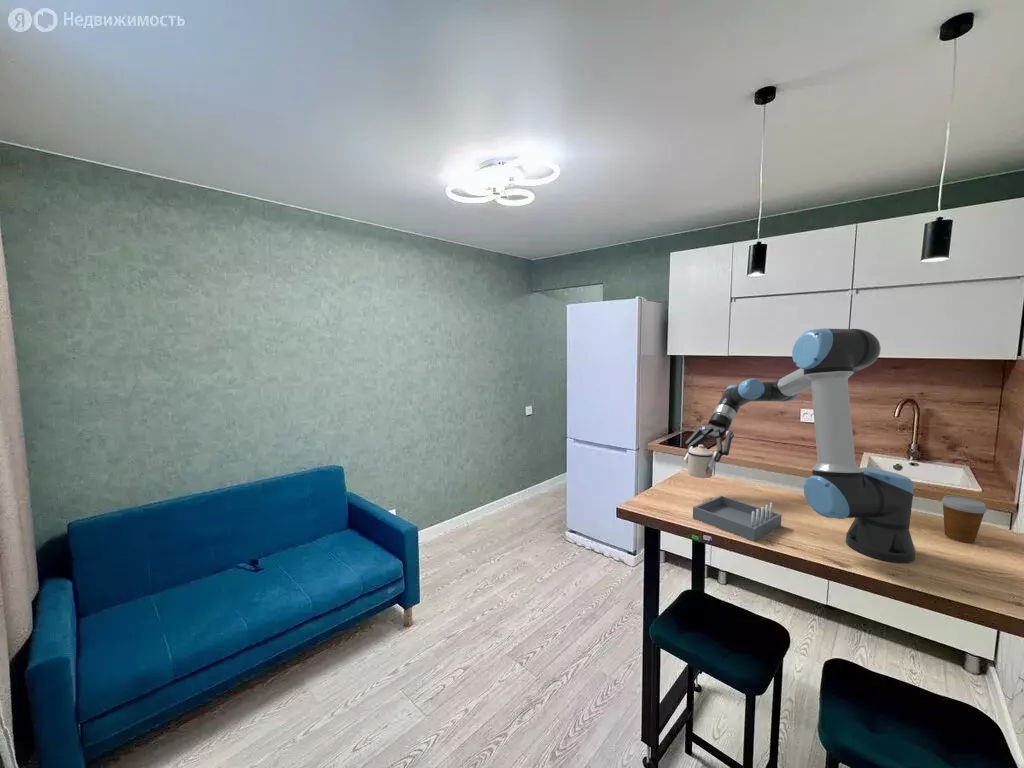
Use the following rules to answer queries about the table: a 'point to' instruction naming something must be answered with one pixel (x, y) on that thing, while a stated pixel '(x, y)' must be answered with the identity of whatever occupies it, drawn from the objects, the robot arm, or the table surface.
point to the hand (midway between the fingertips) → (697, 464)
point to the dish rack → (738, 517)
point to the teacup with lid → (699, 462)
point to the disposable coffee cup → (962, 517)
